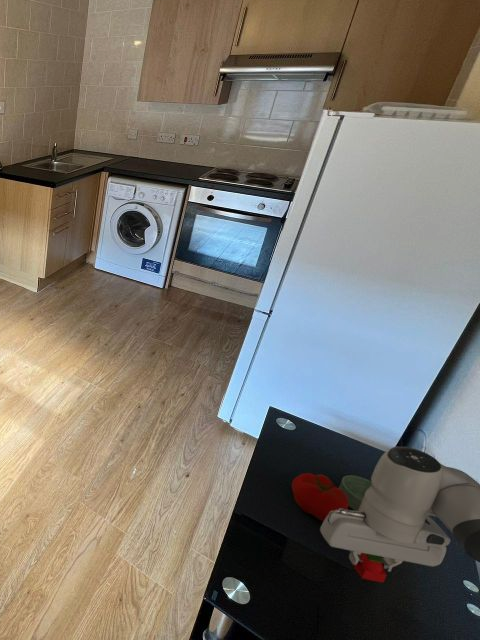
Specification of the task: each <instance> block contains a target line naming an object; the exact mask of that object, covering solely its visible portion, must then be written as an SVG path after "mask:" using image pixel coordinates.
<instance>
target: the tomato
mask: <svg viewBox="0 0 480 640" xmlns="http://www.w3.org/2000/svg"><path fill="white" fill-rule="evenodd" d="M291 490H292V493H293V500H294V501H295V502H296V504H297V506H298V507H299V508H300V509H301V510H302V511H303V512H304V513H305V514H309V515H312V516H313V517H314V518H316V519H317V520H319V521H322V522H324V520H325V518H326V517H327V515H328V514H329V512H330V511H334V510H338V509H339V508H342V509H346V510H349V506H348V505H349V503H348V499H347V497H346V496H345V494H344V493H343V491H342V490H341V489H339V487H336V485H335V484H334V483H333V482H332V480H330V478H329V477H328V476H326V475H323V474H322V473H320V474H316V473H314V474H312V473H311V472H305V473H301V474H299V475H298V476H296V477H295V478H294V479H293V481H291Z"/></svg>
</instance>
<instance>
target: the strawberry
mask: <svg viewBox="0 0 480 640" xmlns="http://www.w3.org/2000/svg"><path fill="white" fill-rule="evenodd" d="M360 557H361V558H362V559H363V563H362V566H359V565H354V564H352V562H351V561H350V564H352V565H353V567H354V569H355V570H356V572H357V573H358V576H360V578H361V579H364V580H369V581H374V582H378V583H384V582H385V580H386V578H387V573H386V571H384V570H383V566H382V563H383V561H382V559H381V558H382V557H381V556H376V555H371V554H366V553H361V554H360Z"/></svg>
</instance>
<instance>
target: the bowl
mask: <svg viewBox="0 0 480 640" xmlns="http://www.w3.org/2000/svg"><path fill="white" fill-rule="evenodd" d="M370 486H371V479H367V478H366V477H365V478H364V477H362V476H358V475H353V474H351V475H350V474H349V475H345V476H343V477H342V478H341V481H340V483H339V486H338V488H339V489H341V490H342V491H343V493H344V494H345V496H346V497H347V499H348V503H349V505H348V508H350V509H352V510H353V511H359V507H360V505H361V502H362V499H363V497H364V494H365V492H366V490H367V489H368V488H369V487H370Z"/></svg>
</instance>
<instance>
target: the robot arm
mask: <svg viewBox="0 0 480 640" xmlns="http://www.w3.org/2000/svg"><path fill="white" fill-rule="evenodd" d="M370 481H371V486H370V487H369V488H368V489H367V490H366V492H365V494H364V497H363V499H362V502H361V505H360V507H359V511H355V510H353V509H352V510H351V509H348V510H346V509H342V508H339V509H338V510H334V511H330V512H329V514H328V515H327V517H326V518H325V520H324V521H322V524H321V525H320V527H319V532H320V535H322V537H323V539H324V540H325V542H326V543H327V544H328V546H330V548H335V549H340V550H346V551H349V555H348V559H349V561H350V563H351V562H352V563H351V565H353V564H354V565H359V566H362V563H363V559H362V558H361V557H360V554H361V553H366V554H371V555H376V556H379V557H380V558H381V559H382V561H383V563H382V566H383V570H384V572H392V569H393V568H394V567H397V566H398V565H401V564H403V562H408V563H413V564H418V565H422V566H427V567H437V566H439V565H441V564H442V562H443V560H444V558H445V556H446V554H447V546H449V544H451V538H450V537H449V536H448V535H447V533H446V531H444V529H442V528H441V527H440V526H439V525H438V524H437V523H436V522H435V520H434V519H433V518H431V517H436V518H438V519H439V520H440V522H442V525H444V526H445V527H446V528H447V529H448V530H449V531H450V533H451V534H452V535H453V537H454V539H456V541H457V542H458V544H459V545H460V546H461V548H462V549H463V551H465V553H466V554H467V555H468V556H469V557H470V558H471V559H472V560H474V561H476V562H478V563H480V482H477V480H476V479H474V478H473V477H472V476H470V475H469V474H468V473H466V472H465V471H463V470H461V469H458V468H456V467H455V468H454V467H450V466H446V465H444V464H442V463H440V462H439V460H438V459H437V458H435V457H434V456H432V455H431V454H428V453H427V452H424V451H422V450H420V449H417V448H414V447H409V446H408V447H407V446H394V447H391V448H389V449H387V450H386V451H385V452H384V453H383V454H382V455H381V457H380V458H379V459H378V461H377V463H376V464H375V467H374V469H373V472H372V474H371V477H370ZM430 516H431V517H430Z"/></svg>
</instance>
